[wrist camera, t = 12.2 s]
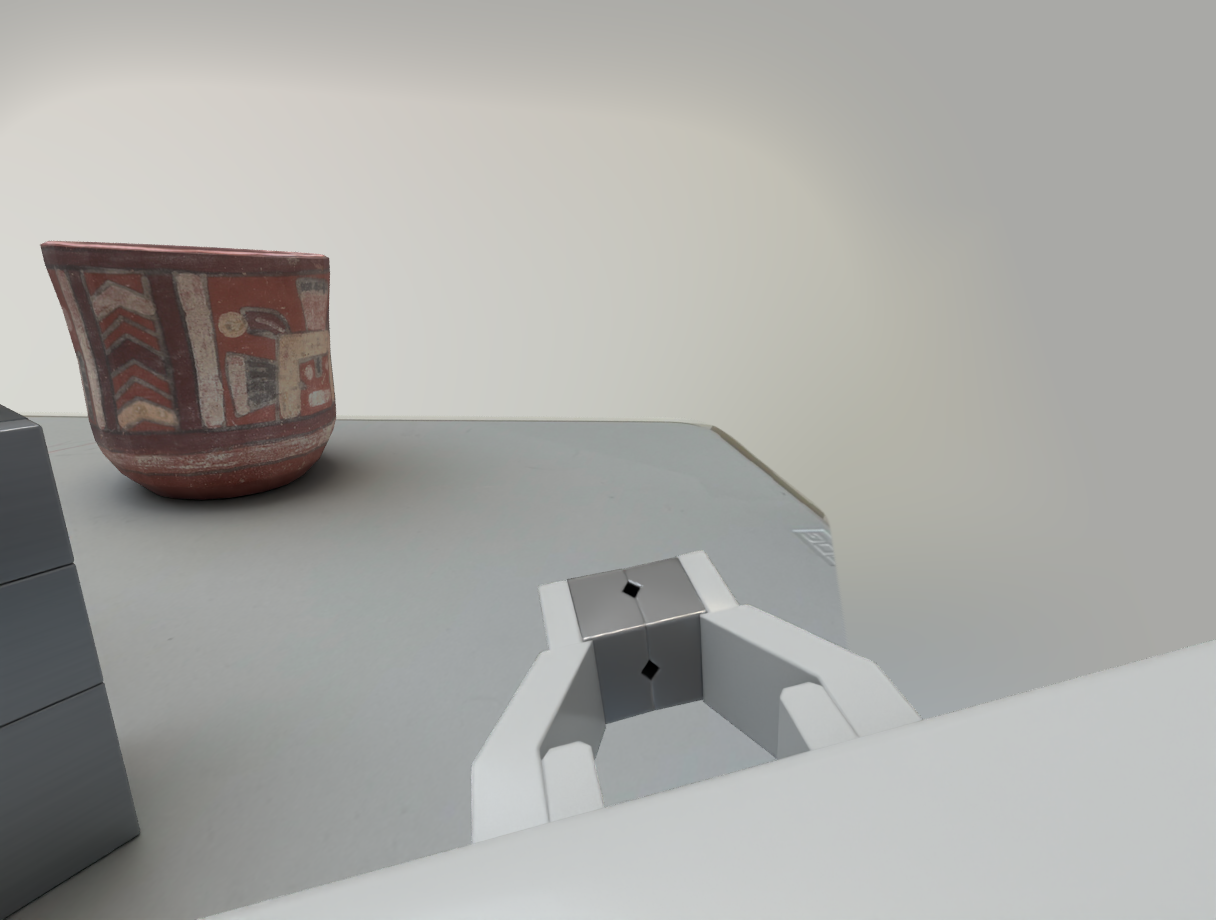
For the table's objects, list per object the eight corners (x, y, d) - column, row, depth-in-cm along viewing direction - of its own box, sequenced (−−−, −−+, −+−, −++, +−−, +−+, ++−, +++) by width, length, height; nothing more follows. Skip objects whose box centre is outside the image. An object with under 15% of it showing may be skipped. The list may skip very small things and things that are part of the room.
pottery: (57, 532, 39) (-16, 238, 34) (127, 452, 54) (84, 239, 49) (351, 502, 47) (332, 256, 41) (341, 439, 62) (326, 253, 56)
